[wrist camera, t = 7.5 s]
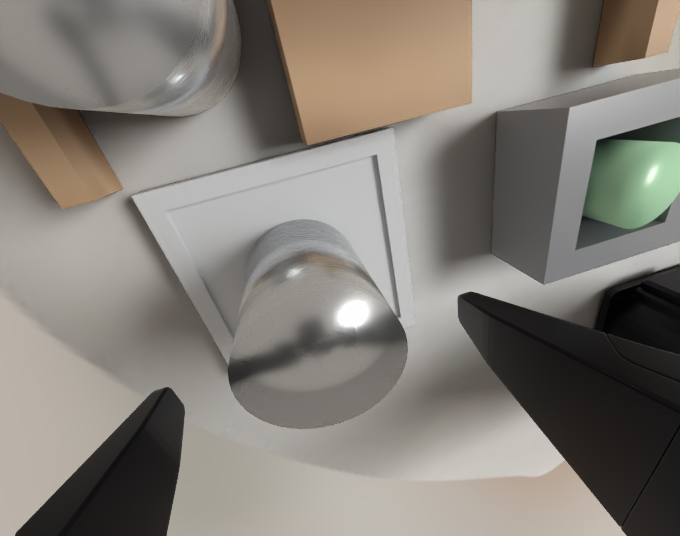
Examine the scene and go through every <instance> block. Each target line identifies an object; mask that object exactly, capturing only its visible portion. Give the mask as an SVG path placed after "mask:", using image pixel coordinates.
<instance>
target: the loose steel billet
mask: <svg viewBox="0 0 680 536" xmlns="http://www.w3.org/2000/svg"><path fill="white" fill-rule="evenodd" d="M407 351H408V346H407V338H406V334H405V331H404V329H403V326H402V324H401V323H400V321H399V320H398V318H397V316H396V315H395V313H394V312H393V310H392V309H391V307H390V306H389V304H388V302H387V301H386V299H385V298H384V296H383V295H382V293H381V291H380V290H379V288H378V287H377V285H376V284H375V282H374V281H373V279H372V277H371V276H370V274H369V273H368V271H367V270H366V268H365V266H364V265H363V263H362V262H361V260H360V259H359V257H358V256H357V254H356V252H355V251H354V249H353V248H352V246H351V245H350V243H349V242H348V240H347V239H346V238H345V236H344V235H343V234H342V233H341V232H339V231H338V230H337V229H335V228H334V227H332V226H330V225H328V224H326V223H323V222H320V221H316V220H310V219H298V220H291V221H287V222H284V223H281V224H279V225H277V226H275V227H273V228H271V229H270V230H268V231H267V232H266V233H265V234H263V235H262V236H261V237H260V238H259V240H258V241H257V242H256V243H255V245H254V246H253V248H252V250H251V252H250V255H249V258H248V262H247V267H246V272H245V278H244V283H243V288H242V294H241V299H240V305H239V310H238V315H237V321H236V326H235V332H234V337H233V342H232V348H231V353H230V359H229V366H228V377H229V383H230V386H231V390H232V392H233V394H234V396H235V398H236V399H237V400H238V402H239V403H240V404H241V405H242V406H243V407H244V408H245V409H246V410H247V411H248V412H249V413H251V414H252V415H254V416H255V417H257V418H259V419H261V420H263V421H265V422H268V423H270V424H273V425H277V426H281V427H287V428H297V429H308V428H319V427H325V426H330V425H334V424H337V423H341V422H344V421H346V420H349V419H351V418H353V417H356V416H358V415H360V414H362V413H363V412H365V411H367V410H368V409H370V408H371V407H373V406H374V405H375V404H377V403H378V402H379V401H380V400H381V399H382V398H384V397H385V396H386V395H387V394H388V392H389V391H390V390H391V389H392V388H393V386H394V385H395V384H396V382H397V381H398V379H399V377H400V376H401V374H402V371H403V369H404V367H405V363H406V359H407Z"/></svg>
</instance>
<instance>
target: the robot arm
mask: <svg viewBox="0 0 680 536" xmlns="http://www.w3.org/2000/svg"><path fill="white" fill-rule="evenodd" d="M458 318H459V321H460V323H461V324H462V326H463V327H464V329H465V330H466V332H467V334H468V335H469V337H470V338H471V340H472V341H473V343H474V344H475V346H476V347H477V349H478V350H479V352H480V354H481V355H482V357H483V358H484V360H485V361H486V362H487V364H488V365H489V366H490V368H491V369H492V370H493V371H494V373H495V374H496V375H497V376H498V378H499V379H500V380H501V381H502V382H503V384H504V385H505V386H506V387H507V389H508V390H509V391H510V392H511V394H512V395H513V396H514V397H515V398H516V400H517V401H518V402H519V403H520V405H521V406H522V407H523V408H524V410H525V411H526V412H527V413H528V414H529V416H530V417H531V418H532V419H533V421H534V422H535V423H536V424H537V426H538V427H539V428H540V429H541V430H542V432H543V433H544V434H545V435H546V437H547V438H548V439H549V440H550V442H551V443H552V444H553V445H554V446H555V448H556V449H557V450H558V451H559V453H560V454H561V455H562V456H563V458H564V459H565V460H566V461H567V462H568V464H569V465H570V466H571V467H572V468H573V470H574V471H575V472H576V473H577V475H578V476H579V477H580V478H581V480H582V481H583V482H584V483H585V485H586V486H587V487H588V488H589V489H590V491H591V492H592V493H593V494H594V496H596V498H597V499H598V500H599V502H600V503H601V504H602V505H603V507H604V508H605V509H606V510H607V512H608V513H609V514H610V515H611V517H613V519H614V520H615V521H616V523H617V524H618V525H619V526H620V527H621V529H622V530H623V532H624V533H625V534H626V535H627V536H680V266H678V267H675V268H672V269H669V270H666V271H663V272H660V273H657V274H654V275H651V276H647V277H644V278H641V279H638V280H635V281H632V282H629V283H626V284H623V285H620V286H617V287H614V288H612V289H610V290H609V291H608V292H607V293H606V294H605V297H604V301H603V304H602V308H601V311H600V315H599V319H598V322H597V326H596V330H594V329H590V328H587V327H584V326H581V325H578V324H574V323H571V322H568V321H565V320H561V319H558V318H555V317H552V316H549V315H545V314H542V313H539V312H536V311H533V310H529V309H526V308H523V307H520V306H517V305H513V304H510V303H507V302H504V301H500V300H497V299H494V298H491V297H488V296H484V295H481V294H478V293H475V292H467V293H464V294H461V295H459V296H458ZM184 416H185V409H184V405H183V403H182V402H181V401H180V399H179V398H178V397H177V395H176V394H175V393H174V391H173V390H172V389H171V388H169V387H165V388H162V389H159V390H156V391H154V392H152V393H151V394H150V395H149V396H148V397H147V398H146V399H145V400H144V401H143V402H142V403H141V405H140V406H139V407H138V408H137V409H136V410H135V411H134V412H133V413H132V414H131V415H130V416H129V417H128V418H127V419H126V420H125V421H124V422H123V423H122V424H121V425H120V426H119V427H118V428H117V429H116V430H115V431H114V432H113V433H112V434H111V436H109V437H108V439H107V440H106V441H105V442H104V443H103V444H102V445H101V446H100V447H99V448H98V449H97V450H96V451H95V452H94V453H93V454H92V455H91V456H90V457H89V458H88V459H87V460H86V461H85V462H84V463H83V464H82V465H81V466H80V467H79V468H78V469H77V471H76V472H75V473H74V474H73V475H72V476H71V477H70V478H69V479H68V480H67V481H66V482H65V483H64V484H63V485H62V486H61V487H60V488H59V489H58V490H57V491H56V492H55V493H54V494H53V495H52V496H51V497H50V498H49V499H48V500H47V502H46V503H45V504H44V505H43V506H42V507H41V508H40V509H39V510H38V511H37V512H36V513H35V514H34V515H33V516H32V517H31V518H30V519H29V520H28V521H27V522H26V523H25V524H24V525H23V526H22V527H21V528H20V529H19V530H18V531H17V532H16V534H15V536H166V535H167V529H168V525H169V520H170V514H171V509H172V504H173V499H174V494H175V489H176V484H177V479H178V473H179V467H180V459H181V449H182V438H183V427H184Z"/></svg>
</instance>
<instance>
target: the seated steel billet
mask: <svg viewBox="0 0 680 536" xmlns="http://www.w3.org/2000/svg"><path fill="white" fill-rule="evenodd" d="M241 49H242V45H241V31H240V24H239V20H238V16H237V12H236V9H235V5H234V2H233V0H0V93H3V94H6V95H9V96H12V97H15V98H18V99H21V100H24V101H27V102H31V103H36V104H40V105H45V106H49V107H58V108H67V109H77V110H91V111H105V112H119V113H133V114H146V115H160V116H174V117H179V116H190V115H195V114H199V113H202V112H204V111H206V110H208V109H210V108H212V107H213V106H215V105H216V104H217V103H219V102H220V101H221V100H222V99H223V98H224V97H225V95H226V94H227V93H228V91H229V90H230V88H231V87H232V85H233V83H234V81H235V79H236V76H237V73H238V70H239V65H240V60H241Z"/></svg>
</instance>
